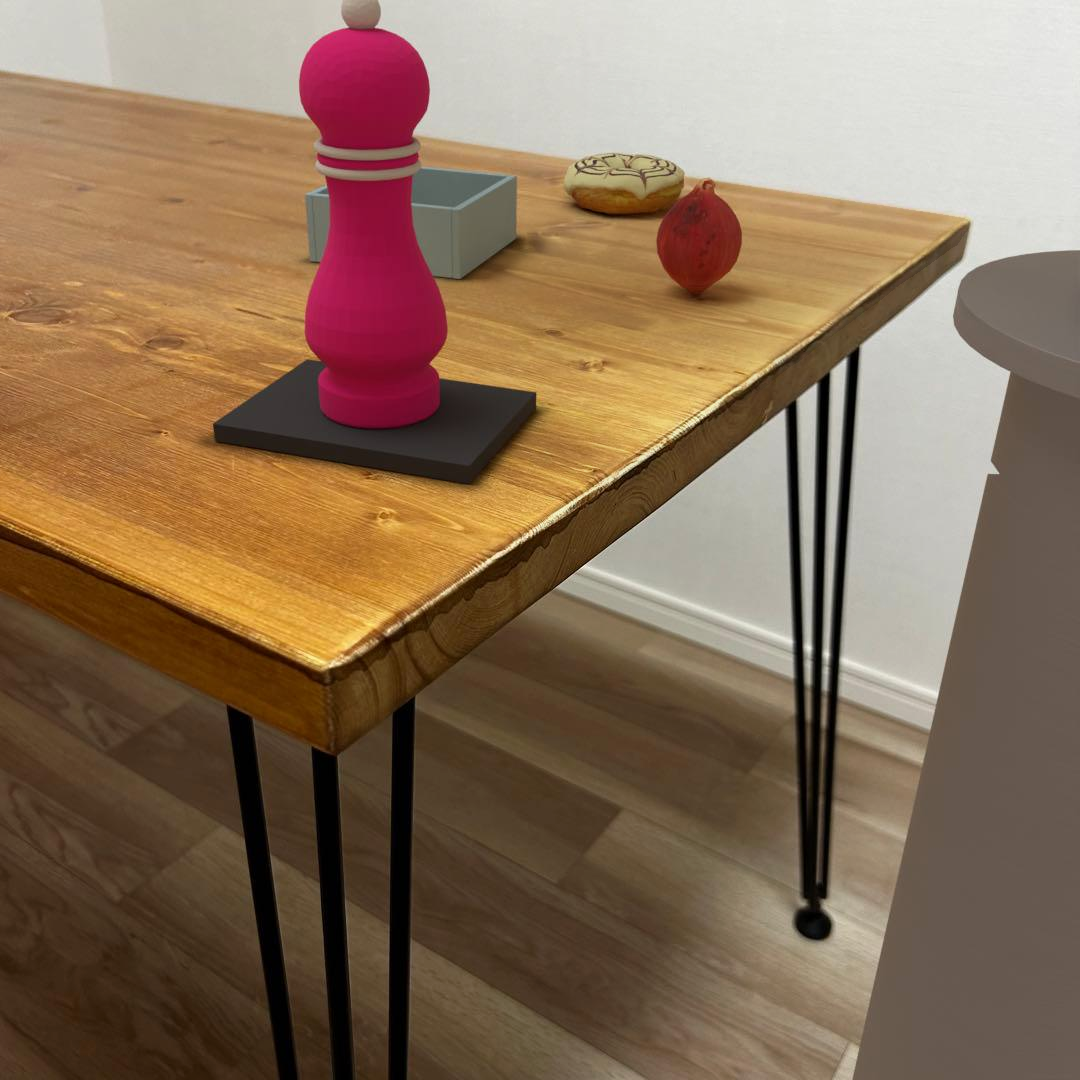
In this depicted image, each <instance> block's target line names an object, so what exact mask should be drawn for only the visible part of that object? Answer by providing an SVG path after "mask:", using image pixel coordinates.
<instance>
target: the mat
mask: <svg viewBox="0 0 1080 1080" xmlns="http://www.w3.org/2000/svg"><path fill="white" fill-rule="evenodd" d="M326 367H327V366H326V365H325V364H324V363H323V362H322V361H321V360H315V359H309V358H308V359H305V360H304V361H302V362H301V363H299V364H298V365H297V366H296V367H294V368H292V369H290V370H289V371H288V372H286V373H284V375H282V376H281V377H278V378H277V379H276V380H275V381H273V382H272V383H270V384H268V385H267V386H266V387H264V388H263V389H262V390H261V389H260V391H258V392H256V394H254V395H253V396H251V397H250V398H248V399H247V400H245V401H244V402H241V404H240V405H238V406H236V407H235V408H233V409H232V410H230V411H229V412H227V413H226V414H225V415H223V416H222V417H220V418H219V419H218V420H216V421H214V422H213V423H212V429H213V436H214V437H213V438H214V441H215V442H218V443H224V444H229V445H230V444H231V445H236V446H240V447H241V446H242V447H248V448H253V449H259V450H265V451H273V452H278V453H283V454H289V455H296V456H301V457H305V458H307V457H308V458H313V459H318V460H325V461H330V462H336V463H342V464H348V465H353V466H359V467H364V468H365V467H366V468H372V469H378V470H384V471H389V472H396V473H401V474H407V475H414V476H418V477H425V478H432V479H437V480H443V481H450V482H454V483H459V484H466V485H467V484H468V485H470V484H471V483H472V482H473V481H474V480H475V478H477V477H478V475H479V474H480V473H481V472H482V471H483V470H484V468H485V467H486V466H487V465H488V464H489V463H490V462H491V461H492V460H493V458H494V457H495V456H496V455H497V453H499V452H500V450H501V449H502V448H503V447H504V446H505V445H506V443H508V442H509V440H510V439H511V438H512V437H513V436H514V435H515V433H517V431H518V430H519V429H520V428H521V427H522V425H524V423H525V422H526V421H527V420H528V419H529V418H530V416H531V415H532V414H533V413H534V412H535V411H536V410H537V392H536V391H531V390H523V389H517V388H509V387H503V386H497V385H496V386H495V385H489V384H481V383H474V382H468V381H460V380H454V379H447V378H440V377H439V390H440V404H439V407H438V408H437V410H436V412H435V413H434V414H432V415H431V416H430V417H428V418H427V419H424V420H422V421H420V422H417V423H414V424H411V425H407V426H402V427H395V428H382V429H370V428H357V427H352V426H347V425H343V424H340V423H337V422H335V421H333V420H331V419H329V418H327V417H326V415H325V414H324V413H323V412H322V410H321V407H320V398H319V385H318V377H319V375H320V373H321V372H322V371H323V370H324V369H325V368H326Z"/></svg>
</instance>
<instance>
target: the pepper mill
mask: <svg viewBox="0 0 1080 1080" xmlns="http://www.w3.org/2000/svg"><path fill="white" fill-rule="evenodd" d="M381 10H382V9H381V5H380V2H379V0H342V2H341V6H340V14H341V18H342V21H344V24H345V25H346V26H347V27H344V28H340V29H337V30H336V29H335V30H333V31H331V32H329V33H327V34H325V35H323V36H321V37H320V38H319V39H318V40H317V41H315V42H314V43H313V44H312V45H311V46H310V48H309V49H308V51H307V52H306V53H305V55H304V58H303V60H302V63H301V67H300V71H299V77H298V92H299V100H300V104H301V106H302V108H303V110H304V113H305V114H306V116H308V118H309V119H310V121H312V123H313V124H314V125H315V127H316V128H317V129H318V130H319V133H320V136H321V137H319V138H317V139H316V140H315V141H314V143H313V149H314V151H315V152H316V159H317V160H316V162H315V165H314V166H315V167H314V168H315V170H316V171H317V172H318V173H319V174H320V175H323V176H324V179H325V183H326V185H327V189H328V194H329V200H330V226H329V233H328V239H327V244H326V247H325V250H324V254H323V257H322V260H321V262H319V265H318V267H317V270H316V273H315V275H314V278H313V281H312V284H311V286H310V289H309V292H308V296H307V299H306V304H305V305H306V306H305V312H304V313H305V314H304V337H305V342H306V344H307V345H308V347H309V350H310V351H311V352H312V354H314V355H315V356H316V358H317V359H318V360H319V361H322V362H323V363H324V364H325V365H326V366H327V367H326V368H325V369H324V370H323V371H322V372H321V373H320V375H319V377H318V385H319V398H320V407H321V410H322V412H323V413H324V414H325V415H326V417H327V418H329V419H331V420H333V421H335V422H337V423H340V424H343V425H347V426H352V427H357V428H370V429H382V428H395V427H402V426H407V425H411V424H414V423H417V422H420V421H422V420H424V419H427V418H428V417H430V416H431V415H432V414H434V413H435V412H436V410H437V408H438V407H439V404H440V390H439V378H440V374H439V372H438V370H437V369H436V368H435V367H434V366H433V365H431V362H433V360H434V359H435V358H436V357H437V356H438V355H439V353H440V352H441V351H442V349H443V347H444V346H445V343H446V341H447V338H448V330H449V329H448V319H447V311H446V306H445V303H444V300H443V296H442V295H441V294H442V293H441V291H440V288H439V285H438V283H437V281H436V279H435V276H433V275H432V273H431V271H430V269H429V267H428V265H427V263H426V261H425V259H424V257H423V254H422V252H421V250H420V247H419V245H418V242H417V238H416V234H415V230H414V226H413V217H412V205H411V194H412V179H413V174H415V173H417V172H418V171H419V170H420V169H421V167H422V162H421V160H420V155H419V151H420V150H421V148H422V144H421V141H420V140H419V139H418V138H417V137H414V136H413V135H414V132H415V130H416V128H417V126H418V125H419V124H420V122H421V121H422V120H423V118H424V116H425V115H426V113H427V112H428V107H429V104H430V95H431V94H430V93H431V87H430V86H431V85H430V79H429V75H428V71H427V67H426V65H425V62H424V59H423V58H422V56H421V55H420V53H419V52H418V50H417V49H416V48H415V47H414V46H413V45H412V43H410V42H409V41H408V40H407V39H405V38H404V37H402V36H400V35H399V34H397V33H394V32H392V31H390V30H386V29H383V28H379V27H376V26H377V25H378V24H379V22H380V19H381V16H382V11H381Z"/></svg>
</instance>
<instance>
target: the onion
mask: <svg viewBox="0 0 1080 1080" xmlns="http://www.w3.org/2000/svg"><path fill="white" fill-rule="evenodd" d="M716 186H717V185H716V182H715V181H714V180H713V179H712V178H711V177H704V178H701V179H699V180H698V182H697V183H696V184H695V186H694V187H693V189H692V190H691V191H690V192H689V193H687V194H686V195H684V196H683V197H681V198H680V199H677V202H675V203H674V204H672V206H671V207H670V209H668V211H667V212H666V214H665V215H664V217H663V218H662V220H661V222H660V224H659V227H658V230H657V234H656V235H657V236H656V238H655V239H656V240H655V241H656V252H657V256H658V258H659V261H660V263H661V265H662V268H663V270H664V271H665V272H666V274H668V276H669V278H671V279H672V280H673V281H674V282H675V283H676V284H678V285H679V286H680V287H682V288H683V289H684V290H686V292H688V293H689V294H692V295H700V294H702V293H704V292H705V291H706V290H707V289H708V288H709V287H711V286H713V285H714V284H716V283H717V282H719V281H720V280H722V279H723V278H724V277H725V276H726V275H728V274H729V273H730V272H731V270H732V269H733V268H734V266H735V264H736V263H737V261H738V260H739V257H740V252H741V248H742V245H743V232H742V227H741V223H740V221H739V218H738V216H737V214H736V213H735V212H734V210H733V208H731V206H730V205H729V204H728V203H727V202H726V201H725V199H723V198H721V197H720V196H719V195H718V194H717V193H715V188H716Z"/></svg>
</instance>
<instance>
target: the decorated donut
mask: <svg viewBox="0 0 1080 1080" xmlns="http://www.w3.org/2000/svg"><path fill="white" fill-rule="evenodd" d="M684 186H685V171H684V169H682V168H681V167H680V166H679V165H677V164H675V163H674V162H672V161H670V160H667V159H663V158H661V157H657V156H655V155H650V154H631V153H623V152H622V153H621V152H605V153H599V154H598V153H597V154H593V155H589V156H585V157H583V158H581V159H579V160H577V161H575V162H573V163H572V164H570V165H569V166H568V168H567V170H566V173H565V177H564V179H563V189H564V190H565V192H566V194H567V195H568V196H571V197H572V199H573V200H574V202H576V203H577V204H578V206H579V207H580V208H581V209H588V210H591V211H593V212H597V213H605V214H608V215H629V214H630V215H631V214H643V213H646V214H652V213H655V212H656V211H664V210H665V209H666V208H668V207H670V206H673V205H674V204H675V203H676V202H677V201H678V200H679V198H680V195H681V193H682V190H683V189H684V188H685V187H684Z"/></svg>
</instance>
